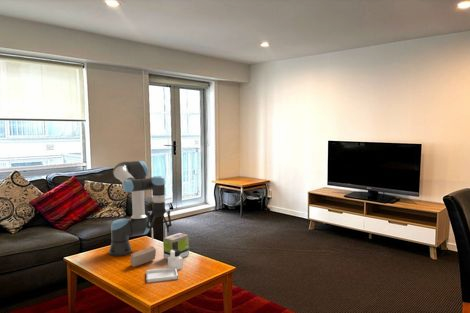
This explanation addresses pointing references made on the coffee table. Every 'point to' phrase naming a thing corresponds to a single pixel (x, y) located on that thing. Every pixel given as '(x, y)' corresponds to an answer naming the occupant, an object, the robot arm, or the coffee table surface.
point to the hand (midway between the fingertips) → (159, 238)
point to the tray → (161, 274)
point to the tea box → (176, 244)
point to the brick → (143, 256)
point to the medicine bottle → (175, 259)
